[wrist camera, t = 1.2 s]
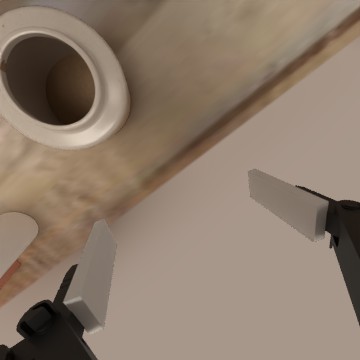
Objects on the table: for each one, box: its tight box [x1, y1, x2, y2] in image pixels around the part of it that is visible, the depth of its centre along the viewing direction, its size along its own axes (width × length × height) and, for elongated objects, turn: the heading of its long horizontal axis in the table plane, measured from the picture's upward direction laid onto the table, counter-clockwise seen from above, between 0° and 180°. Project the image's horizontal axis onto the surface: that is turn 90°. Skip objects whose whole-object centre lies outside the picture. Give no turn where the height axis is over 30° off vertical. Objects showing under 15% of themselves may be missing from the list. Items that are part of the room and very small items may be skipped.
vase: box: [0, 6, 131, 150], centre depth 26 cm, size 15×15×17 cm
